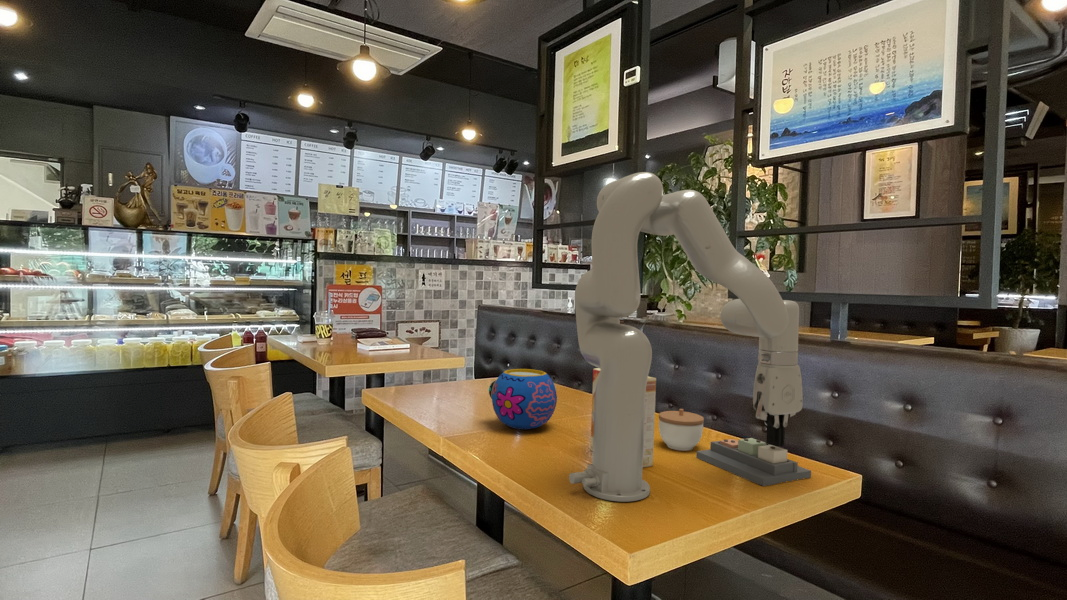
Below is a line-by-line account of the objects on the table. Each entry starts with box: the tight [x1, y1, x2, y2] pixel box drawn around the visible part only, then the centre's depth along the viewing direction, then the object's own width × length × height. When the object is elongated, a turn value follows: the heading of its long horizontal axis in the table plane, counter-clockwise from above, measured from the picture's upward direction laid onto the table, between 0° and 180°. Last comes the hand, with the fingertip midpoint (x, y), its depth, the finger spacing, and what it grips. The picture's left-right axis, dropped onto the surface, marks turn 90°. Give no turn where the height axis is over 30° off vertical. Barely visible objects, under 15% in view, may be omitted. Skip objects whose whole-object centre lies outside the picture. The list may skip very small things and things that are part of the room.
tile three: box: [719, 438, 739, 449], centre depth 126 cm, size 4×4×3 cm
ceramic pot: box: [488, 368, 558, 430], centre depth 148 cm, size 18×18×15 cm
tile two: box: [738, 437, 767, 456], centre depth 121 cm, size 4×4×3 cm
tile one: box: [758, 444, 788, 464], centre depth 117 cm, size 4×4×3 cm
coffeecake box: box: [589, 367, 657, 468], centre depth 125 cm, size 15×7×20 cm, turn 27°
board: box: [696, 440, 812, 487], centre depth 122 cm, size 14×19×4 cm
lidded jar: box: [658, 408, 705, 452], centre depth 135 cm, size 11×11×9 cm
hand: (775, 444), depth 117 cm, fingers closed
